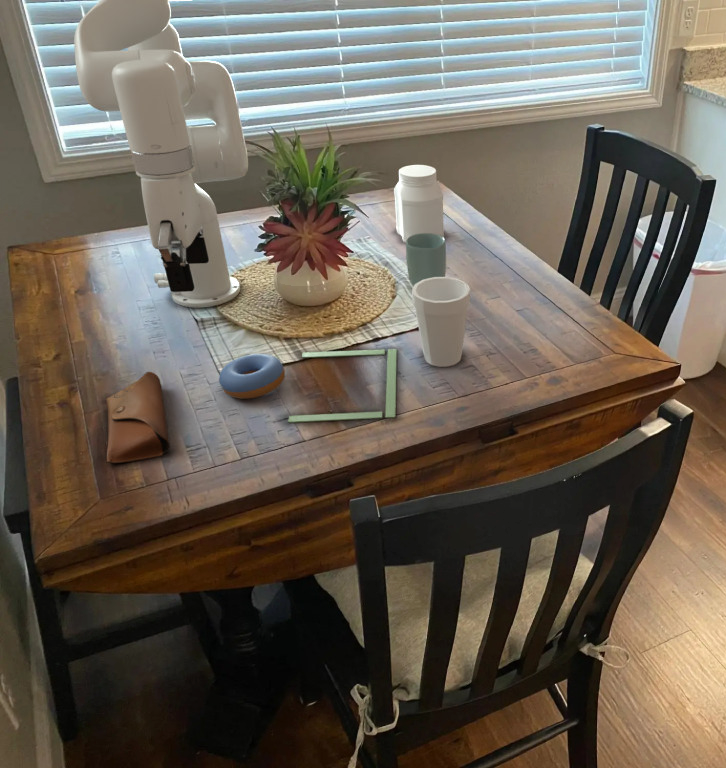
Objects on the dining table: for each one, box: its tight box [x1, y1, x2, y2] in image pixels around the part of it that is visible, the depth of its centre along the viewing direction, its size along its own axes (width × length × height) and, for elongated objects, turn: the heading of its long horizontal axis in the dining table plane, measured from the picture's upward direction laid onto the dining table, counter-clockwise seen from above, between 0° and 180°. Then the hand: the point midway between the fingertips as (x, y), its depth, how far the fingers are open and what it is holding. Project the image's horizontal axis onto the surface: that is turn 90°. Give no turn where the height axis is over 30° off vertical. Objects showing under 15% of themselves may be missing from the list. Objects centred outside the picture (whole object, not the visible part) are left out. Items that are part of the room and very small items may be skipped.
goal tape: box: [287, 348, 398, 424], centre depth 122 cm, size 16×20×1 cm
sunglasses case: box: [105, 371, 171, 464], centre depth 111 cm, size 18×7×7 cm, turn 26°
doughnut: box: [218, 353, 286, 400], centre depth 120 cm, size 10×10×5 cm
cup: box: [405, 233, 447, 288], centre depth 149 cm, size 8×8×10 cm
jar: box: [393, 164, 445, 244], centre depth 170 cm, size 12×10×15 cm
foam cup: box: [411, 276, 471, 368], centre depth 126 cm, size 10×9×13 cm
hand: (190, 276), depth 111 cm, fingers open, 9 cm apart
